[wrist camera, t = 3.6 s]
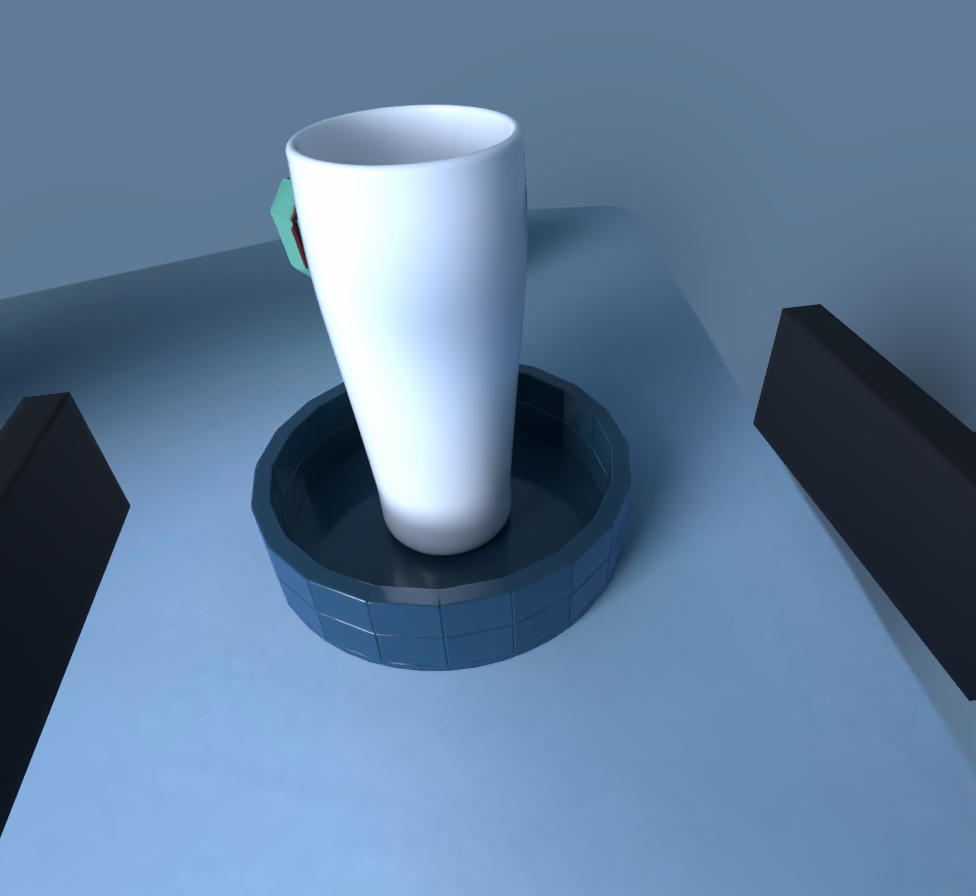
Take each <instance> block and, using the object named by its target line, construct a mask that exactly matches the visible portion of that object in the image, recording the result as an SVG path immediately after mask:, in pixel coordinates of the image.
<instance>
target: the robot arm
mask: <svg viewBox="0 0 976 896" xmlns="http://www.w3.org/2000/svg"><path fill="white" fill-rule="evenodd" d="M753 424H754V425H755V426H756V428H757V429H758V430H759V432H760V433H761V434H762V435H763V437H764V438H765V439H766V441H767V442H768V443H769V444H770V446H771V447H772V448H773V450H774V451H775V452H776V453H777V455H778V456H779V457H780V459H781V460H782V461H783V462H784V464H785V465H786V466H787V468H788V469H789V470H790V471H791V473H792V474H793V475H794V477H795V478H796V479H797V480H798V482H799V483H800V484H801V486H802V487H803V488H804V489H805V491H806V492H807V493H808V494H809V496H810V497H811V498H812V500H813V501H814V502H815V503H816V505H817V506H818V507H819V508H820V510H821V511H822V512H823V514H824V515H825V516H826V518H827V519H828V520H829V521H830V523H831V524H832V525H833V527H834V528H835V529H836V530H837V532H838V533H839V534H840V536H841V537H842V538H843V539H844V541H845V542H846V543H847V545H848V546H849V547H850V548H851V550H852V551H853V552H854V553H855V555H856V556H857V557H858V559H859V560H860V561H861V562H862V564H863V565H864V566H865V567H866V569H867V570H868V572H869V573H870V574H871V575H872V577H873V578H874V579H875V580H876V582H877V583H878V584H879V586H880V587H881V588H882V590H883V591H884V592H885V593H886V595H887V596H888V597H889V599H890V600H891V601H892V602H893V603H894V605H895V606H896V607H897V609H898V610H899V611H900V613H901V614H902V615H903V616H904V618H905V619H906V620H907V622H908V623H909V624H910V625H911V627H912V628H913V629H914V631H915V632H916V633H917V634H918V635H919V637H920V638H921V640H922V641H923V642H924V643H925V645H926V646H927V647H928V649H929V650H930V651H931V652H932V654H933V655H934V656H935V658H936V659H937V660H938V661H939V663H940V664H941V665H942V667H943V668H944V669H945V670H946V671H947V673H948V674H949V675H950V677H951V678H952V679H953V681H954V682H955V683H956V684H957V686H958V687H959V688H960V690H961V691H962V692H963V693H964V695H965V696H966V697H967V698H968V700H969V701H972V700H976V432H972V431H971V430H970V429H969V428H968V427H966V426H965V425H964V424H963V423H962V422H960V421H959V420H958V419H957V418H956V417H954V416H953V415H952V414H951V413H950V412H949V411H947V410H946V409H945V408H944V407H942V406H941V405H940V404H939V403H938V402H936V401H935V400H934V399H933V398H932V397H931V396H929V395H928V394H927V393H926V392H925V391H923V390H922V389H921V388H920V387H919V386H917V385H916V384H915V383H914V382H913V381H911V380H910V379H909V378H908V377H907V376H906V375H904V374H903V373H902V372H901V371H899V370H898V369H897V368H896V367H895V366H893V365H892V364H891V363H890V362H889V361H888V360H886V359H885V358H884V357H883V356H881V355H880V354H879V353H878V352H877V351H876V350H874V349H873V348H872V347H871V346H870V345H868V344H867V343H866V342H865V341H864V340H862V339H861V338H860V337H859V336H858V335H857V334H855V333H854V332H853V331H852V330H850V329H849V328H848V327H847V326H846V325H844V324H843V323H842V322H841V321H840V320H839V319H837V318H836V317H835V316H834V315H833V314H831V313H830V312H829V311H828V310H826V309H825V308H824V307H823V306H822V305H821V304H818V305H810V306H802V307H792V308H784V309H782V313H781V317H780V321H779V325H778V329H777V333H776V337H775V340H774V345H773V348H772V352H771V356H770V360H769V364H768V368H767V372H766V376H765V380H764V384H763V388H762V391H761V395H760V399H759V403H758V408H757V411H756V415H755V419H754V423H753ZM129 508H130V504H129V502H128V501H127V499H126V497H125V495H124V493H123V491H122V489H121V487H120V486H119V484H118V482H117V480H116V478H115V476H114V474H113V472H112V471H111V469H110V467H109V465H108V463H107V461H106V459H105V457H104V456H103V454H102V452H101V450H100V448H99V446H98V444H97V443H96V441H95V439H94V437H93V435H92V433H91V431H90V429H89V428H88V426H87V424H86V422H85V420H84V418H83V416H82V414H81V413H80V411H79V409H78V407H77V405H76V403H75V401H74V399H73V398H72V396H71V394H70V392H67V393H58V394H49V395H41V396H32V397H24V398H23V399H22V401H21V402H20V403H19V405H18V406H17V408H16V409H15V411H14V412H13V413H12V415H11V416H10V418H9V419H8V420H7V422H6V423H5V425H4V426H3V428H2V429H1V430H0V837H1V834H2V832H3V829H4V827H5V824H6V822H7V819H8V817H9V814H10V812H11V809H12V806H13V804H14V801H15V799H16V796H17V794H18V791H19V789H20V786H21V783H22V781H23V778H24V776H25V773H26V771H27V768H28V766H29V763H30V761H31V758H32V755H33V753H34V750H35V748H36V745H37V743H38V740H39V738H40V735H41V733H42V730H43V727H44V725H45V722H46V720H47V717H48V715H49V712H50V710H51V707H52V705H53V702H54V699H55V697H56V694H57V692H58V689H59V687H60V684H61V682H62V679H63V676H64V674H65V671H66V669H67V666H68V664H69V661H70V659H71V656H72V654H73V651H74V648H75V646H76V643H77V641H78V638H79V636H80V633H81V631H82V628H83V626H84V623H85V620H86V618H87V615H88V613H89V610H90V608H91V605H92V603H93V600H94V598H95V595H96V592H97V590H98V587H99V585H100V582H101V580H102V577H103V575H104V572H105V569H106V567H107V564H108V562H109V559H110V557H111V554H112V552H113V549H114V547H115V544H116V541H117V539H118V536H119V534H120V531H121V529H122V526H123V524H124V521H125V519H126V516H127V513H128V511H129Z"/></svg>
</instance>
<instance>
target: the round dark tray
mask: <svg viewBox="0 0 976 896" xmlns="http://www.w3.org/2000/svg"><path fill="white" fill-rule="evenodd" d="M630 485H631V477H630V465H629V453H628V445H627V442H626V440H625V439H624V437H623V435H622V433H621V432H620V430H619V428H618V427H617V425H616V423H615V422H614V420H613V418H612V417H611V415H610V413H609V412H608V411H607V409H605V408H604V407H603V406H602V405H600V404H599V403H598V402H597V401H595V400H594V399H593V398H592V397H590V396H589V395H588V394H587V393H585V392H584V391H583V390H582V389H580V388H579V387H578V386H575V384H573V383H570V382H568V381H566V380H563V379H561V378H559V377H556V376H554V375H552V374H549V373H547V372H545V371H542V370H540V369H538V368H535V367H531V366H526V365H522V364H519V375H518V387H517V399H516V411H515V424H514V437H513V451H512V465H511V493H512V500H511V509H510V513H509V517H508V519H507V521H506V523H505V525H504V526H503V528H502V529H501V530H500V532H499V533H498V534H497V535H496V536H495V537H494V538H492V539H491V540H490V541H488V542H487V543H486V544H484V545H482V546H480V547H478V548H476V549H474V550H471V551H468V552H465V553H460V554H455V555H431V554H425V553H421V552H418V551H415V550H413V549H411V548H409V547H407V546H405V545H404V544H402V543H401V542H399V541H398V540H397V539H396V538H395V537H394V536H393V534H392V533H391V532H390V530H389V529H388V527H387V525H386V523H385V520H384V517H383V513H382V509H381V504H380V499H379V494H378V489H377V486H376V482H375V479H374V476H373V473H372V469H371V466H370V463H369V460H368V456H367V453H366V450H365V447H364V444H363V441H362V437H361V434H360V431H359V428H358V425H357V422H356V419H355V415H354V412H353V409H352V406H351V403H350V400H349V397H348V394H347V391H346V388H345V384H344V382H343V383H341V384H339V385H337V386H336V387H334V388H332V389H330V390H328V391H327V392H325V393H323V394H321V395H319V396H317V397H316V398H314V399H312V400H310V401H309V402H307V403H306V404H305V405H304V406H303V407H302V408H301V409H300V410H298V411H297V412H296V413H295V414H294V415H293V416H292V417H291V418H290V419H288V420H287V421H286V422H285V423H284V424H283V425H282V426H281V427H280V428H278V429H277V431H276V432H275V434H274V435H273V437H272V439H271V441H270V442H269V444H268V446H267V447H266V449H265V451H264V453H263V454H262V456H261V458H260V459H259V461H258V463H257V465H256V468H255V473H254V483H253V492H252V501H251V510H252V512H253V515H254V518H255V520H256V523H257V525H258V528H259V531H260V533H261V536H262V539H263V542H264V544H265V547H266V549H267V552H268V555H269V557H270V560H271V563H272V565H273V568H274V570H275V573H276V575H277V578H278V580H279V583H280V585H281V587H282V590H283V592H284V595H285V597H286V600H287V602H288V604H289V606H290V607H291V608H292V609H293V610H294V611H295V613H296V614H297V615H298V616H299V617H300V618H301V619H302V621H303V622H304V623H305V624H306V625H307V626H308V627H309V628H310V629H311V630H313V631H314V632H315V633H316V634H318V635H319V636H320V637H321V638H323V639H324V640H325V641H327V642H328V643H330V644H332V645H334V646H336V647H337V648H339V649H341V650H343V651H344V652H346V653H349V654H351V655H354V656H356V657H359V658H362V659H364V660H367V661H369V662H373V663H377V664H382V665H386V666H390V667H394V668H402V669H411V670H420V671H449V670H457V669H466V668H474V667H479V666H483V665H487V664H492V663H496V662H500V661H504V660H506V659H509V658H512V657H514V656H517V655H520V654H523V653H525V652H528V651H530V650H532V649H534V648H536V647H538V646H540V645H542V644H543V643H545V642H547V641H549V640H551V639H553V638H554V637H556V636H557V635H558V634H560V633H561V632H563V631H564V630H566V629H567V628H569V627H570V626H571V625H572V624H574V623H575V622H576V621H577V620H578V619H579V618H580V617H581V616H582V615H583V614H584V613H586V612H587V611H588V610H589V609H590V607H591V606H592V605H593V604H594V602H595V601H596V600H597V599H598V597H599V596H600V595H601V594H602V592H603V590H604V589H605V587H606V585H607V584H608V582H609V580H610V578H611V577H612V574H613V572H614V569H615V566H616V564H617V561H618V558H619V553H620V551H621V548H622V546H623V542H624V534H625V526H626V518H627V509H628V501H629V493H630Z"/></svg>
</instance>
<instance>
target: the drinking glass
mask: <svg viewBox="0 0 976 896" xmlns="http://www.w3.org/2000/svg"><path fill="white" fill-rule="evenodd" d="M286 156H287V161H288V166H289V173H290V179H291V185H292V190H293V196H294V202H295V207H296V213H297V218H298V222H299V228H300V233H301V237H302V242H303V246H304V251H305V255H306V259H307V263H308V267H309V271H310V275H311V279H312V283H313V286H314V290H315V293H316V297H317V300H318V304H319V307H320V310H321V313H322V316H323V320H324V323H325V326H326V329H327V332H328V335H329V338H330V341H331V345H332V348H333V351H334V354H335V357H336V360H337V363H338V366H339V369H340V372H341V375H342V378H343V381H344V384H345V388H346V391H347V394H348V397H349V400H350V403H351V406H352V409H353V412H354V415H355V419H356V422H357V425H358V428H359V431H360V434H361V437H362V441H363V444H364V447H365V450H366V453H367V456H368V460H369V463H370V466H371V469H372V473H373V476H374V479H375V482H376V486H377V489H378V494H379V499H380V504H381V509H382V513H383V517H384V520H385V523H386V525H387V527H388V529H389V530H390V532H391V533H392V534H393V536H394V537H395V538H396V539H397V540H398V541H399V542H401V543H402V544H404V545H405V546H407V547H409V548H411V549H413V550H415V551H418V552H421V553H425V554H431V555H455V554H460V553H465V552H468V551H471V550H474V549H476V548H478V547H480V546H482V545H484V544H486V543H487V542H488V541H490V540H491V539H492V538H494V537H495V536H496V535H497V534H498V533H499V532H500V530H501V529H502V528H503V526H504V525H505V523H506V521H507V519H508V517H509V513H510V509H511V500H512V493H511V465H512V451H513V437H514V424H515V411H516V399H517V387H518V375H519V363H520V351H521V340H522V328H523V316H524V303H525V290H526V271H527V190H526V170H525V154H524V133H523V129H522V127H521V125H520V124H519V123H518V122H517V121H516V120H515V119H514V118H512V117H510V116H508V115H506V114H503V113H501V112H497V111H494V110H489V109H485V108H479V107H471V106H460V105H407V106H395V107H386V108H377V109H370V110H364V111H358V112H353V113H349V114H344V115H340V116H336V117H332V118H329V119H325V120H322V121H319V122H316V123H314V124H312V125H309V126H307V127H305V128H303V129H301V130H300V131H298V132H297V133H295V134H294V135H293V136H292V137H291V138H290V139H289V141H288V142H287V145H286Z"/></svg>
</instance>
